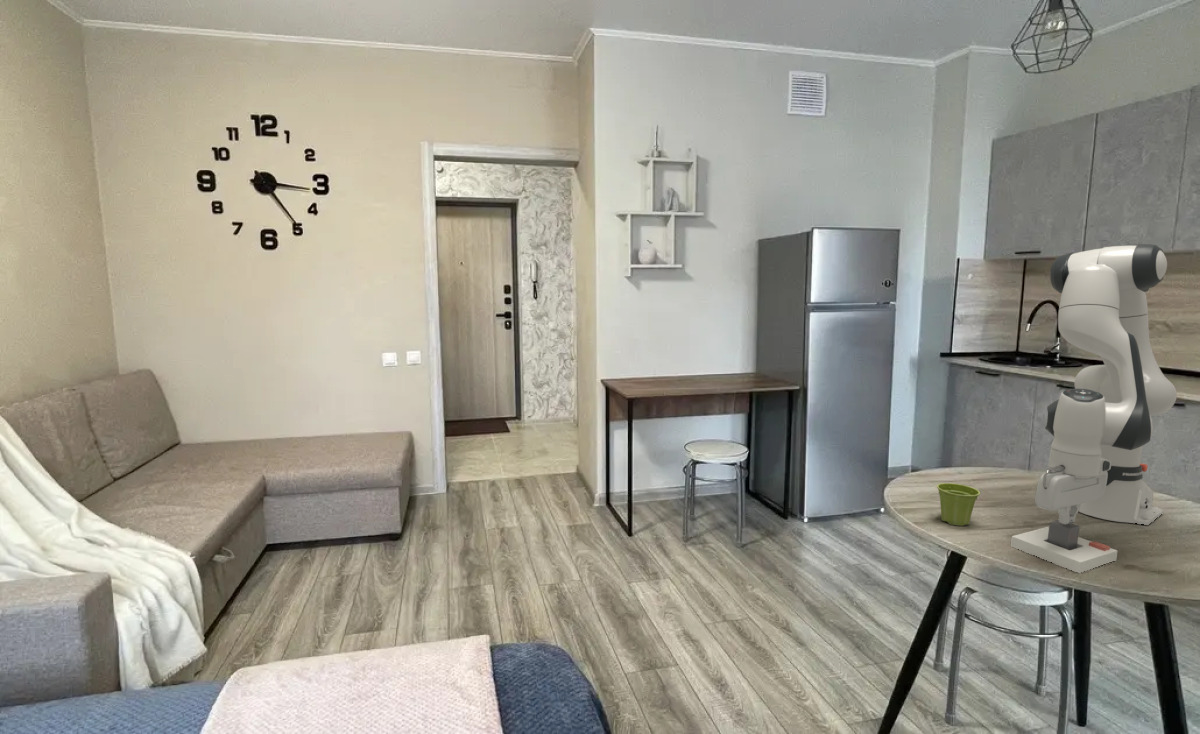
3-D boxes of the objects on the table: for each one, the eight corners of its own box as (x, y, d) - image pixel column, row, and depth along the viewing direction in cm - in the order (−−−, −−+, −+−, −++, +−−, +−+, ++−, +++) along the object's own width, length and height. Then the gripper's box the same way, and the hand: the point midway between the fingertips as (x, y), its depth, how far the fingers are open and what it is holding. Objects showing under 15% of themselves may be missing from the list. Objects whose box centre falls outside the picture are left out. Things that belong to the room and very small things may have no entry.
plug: (1055, 548, 138) (1059, 519, 137) (1075, 555, 134) (1079, 525, 133) (1046, 551, 136) (1049, 522, 135) (1065, 558, 133) (1069, 528, 132)
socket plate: (1046, 536, 144) (1048, 523, 144) (1116, 561, 132) (1117, 547, 131) (1010, 546, 139) (1012, 533, 138) (1079, 573, 126) (1081, 559, 125)
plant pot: (931, 512, 159) (934, 480, 158) (972, 517, 155) (975, 485, 154) (936, 525, 150) (940, 492, 149) (980, 531, 147) (983, 497, 146)
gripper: (1062, 473, 125) (1054, 536, 127) (1116, 461, 133) (1108, 520, 135) (1030, 464, 131) (1023, 524, 133) (1083, 454, 139) (1076, 510, 141)
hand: (1066, 522), depth 134 cm, fingers closed
